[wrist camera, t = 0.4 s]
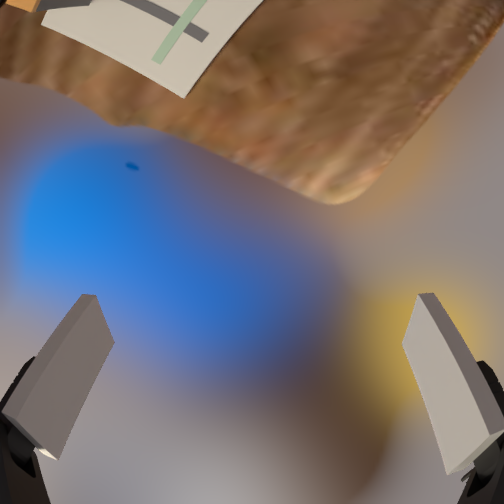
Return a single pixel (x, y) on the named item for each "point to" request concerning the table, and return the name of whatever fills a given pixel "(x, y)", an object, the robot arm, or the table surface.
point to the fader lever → (46, 4)
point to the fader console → (156, 34)
